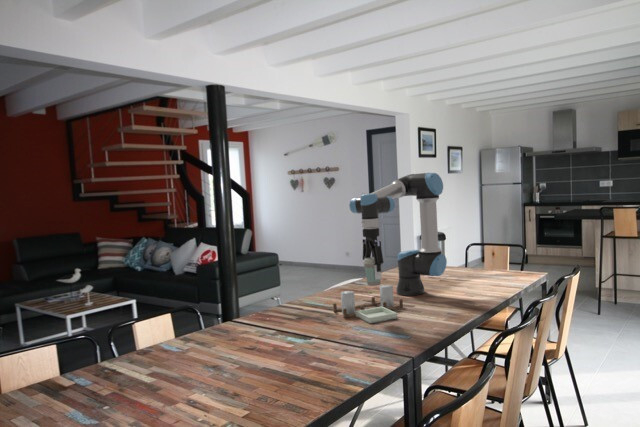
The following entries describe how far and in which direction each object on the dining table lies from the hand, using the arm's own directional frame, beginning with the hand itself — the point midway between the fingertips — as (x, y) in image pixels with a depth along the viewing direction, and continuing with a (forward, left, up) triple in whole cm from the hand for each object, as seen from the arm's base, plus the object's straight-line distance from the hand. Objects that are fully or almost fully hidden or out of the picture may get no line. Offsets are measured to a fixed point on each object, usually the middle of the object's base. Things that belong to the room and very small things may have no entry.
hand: (373, 277), depth 219 cm
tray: (0, 0, -19) cm, 19 cm away
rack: (-3, -14, -19) cm, 24 cm away
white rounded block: (-14, -14, -19) cm, 27 cm away
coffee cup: (0, 0, -4) cm, 4 cm away
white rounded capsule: (+7, -14, -19) cm, 25 cm away
